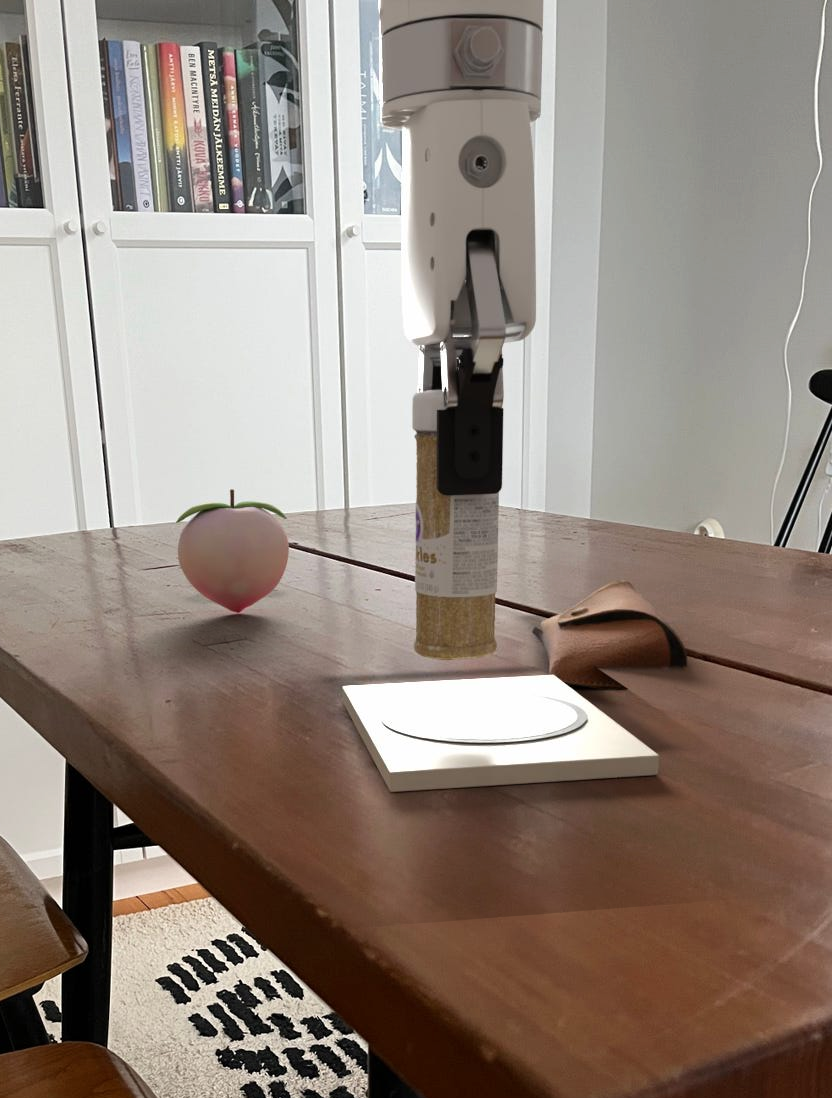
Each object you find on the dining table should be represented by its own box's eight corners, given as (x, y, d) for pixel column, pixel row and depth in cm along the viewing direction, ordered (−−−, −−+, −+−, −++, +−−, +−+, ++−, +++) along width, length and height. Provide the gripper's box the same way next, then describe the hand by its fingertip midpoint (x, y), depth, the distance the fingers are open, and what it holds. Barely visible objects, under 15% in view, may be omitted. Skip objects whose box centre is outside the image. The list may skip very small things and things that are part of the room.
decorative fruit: (213, 627, 100) (205, 496, 97) (168, 613, 107) (159, 490, 103) (314, 613, 105) (309, 488, 101) (265, 601, 111) (259, 483, 108)
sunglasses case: (524, 627, 93) (573, 547, 91) (604, 674, 94) (654, 596, 92) (547, 682, 77) (609, 586, 74) (645, 738, 78) (708, 645, 75)
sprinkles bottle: (401, 649, 70) (398, 390, 65) (477, 642, 71) (480, 388, 66) (433, 666, 66) (432, 390, 61) (512, 658, 67) (518, 387, 62)
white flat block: (553, 690, 77) (554, 672, 77) (658, 775, 60) (660, 752, 60) (342, 702, 76) (341, 684, 75) (390, 792, 59) (389, 769, 58)
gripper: (594, 38, 51) (576, 501, 58) (496, 120, 67) (490, 476, 74) (413, 37, 50) (415, 507, 57) (356, 120, 66) (363, 480, 73)
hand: (457, 485), depth 65 cm, fingers closed on sprinkles bottle, 4 cm apart
